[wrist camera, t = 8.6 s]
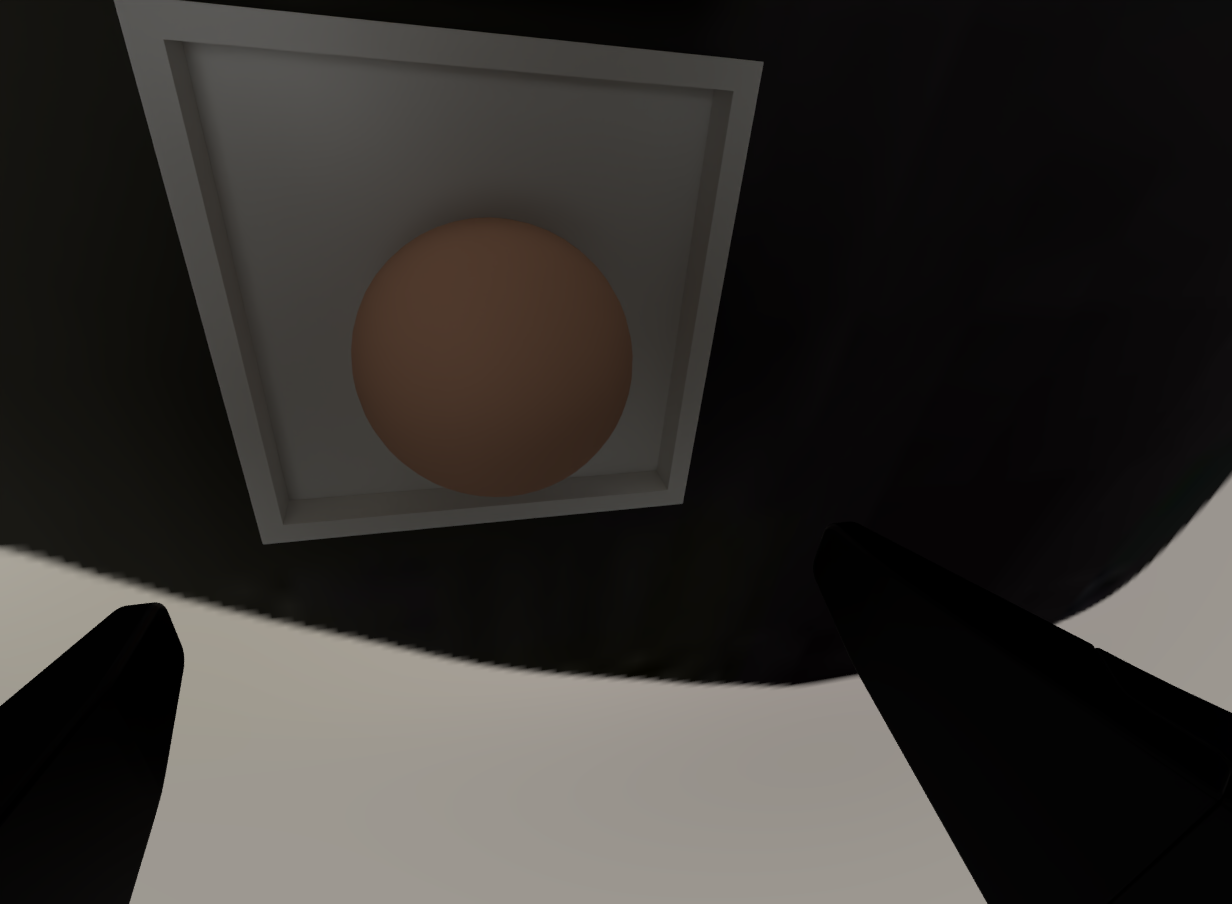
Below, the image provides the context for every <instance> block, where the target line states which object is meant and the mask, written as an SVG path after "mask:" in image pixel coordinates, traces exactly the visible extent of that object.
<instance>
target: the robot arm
mask: <svg viewBox="0 0 1232 904" xmlns="http://www.w3.org/2000/svg"><path fill="white" fill-rule="evenodd" d="M813 572H814V577H815V580H816V582H817V584H818V586H819V589H820V591H821V593H822V596H823V598H824V600H825V602H826V605H827V607H828V609H829V612H830V614H831V616H832V618H833V621H834V623H835V625H836V628H837V630H838V632H839V634H840V637H841V639H842V641H843V644H844V646H845V648H846V650H847V652H848V655H849V657H850V659H851V661H852V663H853V665H854V667H855V669H856V671H857V672H858V674H859V676H860V678H861V680H862V682H863V683H864V685H865V687H866V689H867V690H868V692H869V694H870V695H871V697H872V699H873V701H874V703H875V705H876V706H877V708H878V710H879V712H880V714H881V715H882V717H883V719H884V721H885V722H886V724H887V726H888V728H889V730H890V731H891V733H892V735H893V737H894V738H895V740H896V742H897V744H898V746H899V747H900V749H901V751H902V753H903V754H904V756H905V758H906V760H907V762H908V763H909V765H910V767H911V769H912V770H913V772H914V774H915V776H916V777H917V779H918V781H919V783H920V785H921V786H922V788H923V790H924V792H925V794H926V795H927V797H928V799H929V801H930V802H931V804H932V806H933V808H934V810H935V811H936V813H937V815H938V817H939V818H940V820H941V822H942V824H943V826H944V827H945V829H946V831H947V832H948V834H949V836H950V838H951V840H952V842H953V843H954V845H955V847H956V849H957V850H958V852H959V854H960V856H961V857H962V859H963V861H964V863H965V865H966V866H967V868H968V870H969V872H970V873H971V875H972V877H973V879H974V881H975V882H976V884H977V886H978V888H979V890H980V891H981V893H982V894H983V897H984V898H985V900H986V902H987V904H1232V713H1231V712H1228V711H1226V710H1224V709H1222V708H1220V707H1218V706H1216V705H1214V704H1211V703H1209V702H1207V701H1205V700H1203V699H1201V698H1198V697H1197V696H1194V695H1192V694H1190V693H1188V692H1186V691H1184V690H1182V689H1179V688H1177V687H1175V686H1173V685H1171V684H1169V683H1167V682H1165V681H1163V680H1161V679H1159V678H1157V677H1155V676H1153V675H1151V674H1149V673H1147V672H1145V671H1143V670H1141V669H1139V668H1137V667H1135V666H1133V665H1131V664H1129V663H1127V662H1125V661H1123V660H1121V659H1119V658H1117V657H1116V656H1114V655H1112V654H1110V653H1108V652H1106V651H1104V650H1102V649H1100V648H1094V646H1093V645H1092V644H1090V643H1088V642H1086V641H1084V640H1083V639H1081V638H1079V637H1077V636H1075V635H1073V634H1071V633H1069V632H1067V631H1065V630H1063V629H1061V628H1059V627H1057V626H1055V625H1053V624H1052V623H1050V622H1048V621H1046V620H1044V619H1042V618H1040V617H1038V616H1036V615H1034V614H1032V613H1030V612H1028V611H1026V610H1024V609H1022V608H1021V607H1019V606H1017V605H1015V604H1013V603H1011V602H1009V601H1007V600H1005V599H1003V598H1001V597H999V596H997V595H995V594H993V593H991V592H990V591H988V590H986V589H984V588H982V587H980V586H978V585H976V584H974V583H972V582H970V581H968V580H966V579H964V578H962V577H960V576H959V575H957V574H955V573H953V572H951V571H949V570H947V569H945V568H943V567H941V566H939V565H937V564H935V563H933V562H931V561H929V560H928V559H926V558H924V557H922V556H920V555H918V554H916V553H914V552H912V551H910V550H908V549H906V548H904V547H902V546H900V545H899V544H897V543H895V542H893V541H891V540H889V539H887V538H885V537H883V536H881V535H879V534H877V533H875V532H873V531H871V530H869V529H868V528H866V527H864V526H862V525H860V524H858V523H856V522H841V523H833V524H830V525H828V526H827V528H826V529H825V531H824V533H823V536H822V539H821V542H820V545H819V548H818V551H817V554H816V557H815V560H814V563H813ZM183 669H184V652H183V648H182V645H181V643H180V640H179V638H178V635H177V633H176V631H175V628H174V626H173V623H172V621H171V618H170V616H169V613H168V611H167V609H166V608H165V607H164V606H163V605H162V604H160V603H146V604H137V605H128V606H124V607H121V608H119V609H117V610H115V611H114V612H113V613H111V614H110V615H109V616H108V617H107V618H105V619H104V620H103V621H102V622H101V623H99V624H98V625H97V626H96V627H95V628H93V629H92V630H91V631H90V632H89V633H87V634H86V635H85V636H84V637H83V638H82V639H80V640H79V641H78V642H77V643H75V644H74V645H73V646H72V647H71V648H70V649H68V650H67V651H66V652H65V653H63V654H62V655H61V656H60V657H59V658H57V659H56V660H55V661H54V662H53V663H51V664H50V665H49V666H48V667H47V668H46V669H44V670H43V671H42V672H41V673H39V674H38V675H37V676H36V677H35V678H33V679H32V680H31V681H30V682H29V683H28V684H26V685H25V686H24V687H23V688H21V689H20V690H19V691H18V692H17V693H15V694H14V695H13V696H12V697H11V698H9V699H8V700H7V701H6V702H5V703H3V704H2V705H1V706H0V904H129V902H130V899H131V896H132V892H133V889H134V886H135V882H136V879H137V876H138V872H139V869H140V866H141V862H142V859H143V856H144V852H145V849H146V845H147V842H148V839H149V836H150V832H151V829H152V826H153V822H154V819H155V815H156V812H157V808H158V804H159V801H160V797H161V793H162V789H163V784H164V779H165V773H166V768H167V763H168V757H169V751H170V745H171V739H172V733H173V728H174V721H175V716H176V710H177V704H178V699H179V693H180V687H181V681H182V675H183Z"/></svg>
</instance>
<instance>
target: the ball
mask: <svg viewBox="0 0 1232 904" xmlns="http://www.w3.org/2000/svg"><path fill="white" fill-rule="evenodd" d="M351 359H352V373H353V379H354V383H355V388H356V392H357V395H358V398H359V400H360V403H361V405H362V408H363V411H364V413H365V416H366V418H367V419H368V421H369V423H370V425H371V426H372V428H373V430H374V431H375V433H376V434H377V435H378V436H379V438H380V439H381V440H382V442H383V443H384V444H385V445H386V447H387V448H388V449H389V451H391V452H392V453H393V454H394V455H395V456H396V457H397V458H398V459H399V460H400V461H401V462H402V463H404V464H405V465H406V466H408V467H409V468H410V469H412V470H413V471H414V472H416V473H417V474H419V475H420V476H422V477H424V478H426V479H427V480H429V481H431V482H433V483H435V484H437V485H440V486H442V487H444V488H447V489H450V490H454V491H457V492H461V493H465V494H470V495H476V496H485V497H509V496H516V495H523V494H527V493H531V492H535V491H538V490H541V489H544V488H546V487H549V486H551V485H554V484H556V483H558V482H560V481H562V480H564V479H565V478H567V477H568V476H570V475H572V474H573V473H575V472H576V471H577V470H579V469H580V468H581V467H582V466H584V465H585V464H586V463H587V462H588V461H589V460H590V459H591V458H592V457H593V456H594V455H595V454H596V453H597V452H598V451H599V450H600V449H601V448H602V446H603V445H604V444H605V443H606V441H607V440H608V439H609V437H610V436H611V434H612V432H613V431H614V429H615V428H616V426H617V424H618V421H619V419H620V417H621V415H622V413H623V410H624V407H625V404H626V401H627V398H628V395H629V390H630V385H631V379H632V361H633V354H632V343H631V337H630V333H629V329H628V325H627V320H626V316H625V314H624V311H623V309H622V306H621V304H620V301H619V300H618V298H617V296H616V294H615V293H614V291H613V289H612V287H611V286H610V284H609V282H608V280H607V279H606V278H605V276H604V275H603V274H602V273H601V271H600V270H599V269H598V267H597V266H596V265H595V264H594V263H593V262H592V261H591V260H590V259H588V258H587V257H586V256H585V255H584V254H583V253H582V252H581V251H580V250H579V249H577V248H576V247H574V246H573V245H572V244H570V243H569V242H568V241H566V240H565V239H563V238H561V237H559V236H558V235H556V234H554V233H552V232H550V231H548V230H545V229H543V228H540V227H537V226H535V225H532V224H529V223H525V222H520V221H516V220H512V219H504V218H493V217H487V218H470V219H465V220H459V221H454V222H451V223H448V224H445V225H441V226H438V227H436V228H434V229H431V230H429V231H427V232H425V233H423V234H421V235H419V236H418V237H416V238H415V239H413V240H412V241H410V242H409V243H407V244H406V245H404V246H403V247H402V248H401V249H400V250H399V251H398V252H396V253H395V254H394V255H393V256H392V257H391V258H390V259H389V260H388V261H387V262H386V263H385V264H384V266H383V267H382V268H381V269H380V270H379V272H378V273H377V274H376V275H375V277H374V278H373V280H372V282H371V283H370V285H369V287H368V288H367V290H366V292H365V294H364V297H363V299H362V302H361V304H360V307H359V309H358V312H357V316H356V320H355V324H354V328H353V333H352V345H351Z"/></svg>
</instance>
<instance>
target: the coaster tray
mask: <svg viewBox="0 0 1232 904" xmlns="http://www.w3.org/2000/svg"><path fill="white" fill-rule="evenodd" d="M114 3H115V6H116V10H117V14H118V17H119V21H120V25H121V28H122V32H123V36H124V39H125V43H126V47H127V50H128V54H129V58H130V61H131V65H132V68H133V72H134V76H135V79H136V83H137V87H138V90H139V94H140V98H141V101H142V105H143V109H144V112H145V116H146V120H147V123H148V127H149V131H150V134H151V138H152V141H153V145H154V149H155V152H156V156H157V160H158V163H159V167H160V171H161V174H162V178H163V182H164V185H165V189H166V193H167V196H168V200H169V203H170V207H171V211H172V214H173V218H174V222H175V225H176V229H177V233H178V236H179V240H180V244H181V247H182V251H183V255H184V258H185V262H186V266H187V269H188V273H189V276H190V280H191V284H192V287H193V291H194V295H195V298H196V302H197V306H198V309H199V313H200V317H201V320H202V324H203V328H204V331H205V335H206V339H207V342H208V346H209V349H210V353H211V357H212V360H213V364H214V368H215V371H216V375H217V379H218V382H219V386H220V390H221V393H222V397H223V401H224V404H225V408H226V411H227V415H228V419H229V422H230V426H231V430H232V433H233V437H234V441H235V444H236V448H237V452H238V455H239V459H240V463H241V466H242V470H243V474H244V477H245V481H246V484H247V488H248V492H249V495H250V499H251V503H252V506H253V510H254V514H255V517H256V521H257V525H258V528H259V532H260V536H261V539H262V543H263V544H273V543H283V542H293V541H304V540H314V539H324V538H335V537H345V536H355V535H365V534H376V533H386V532H396V531H407V530H417V529H427V528H438V527H448V526H458V525H468V524H479V523H489V522H499V521H510V520H520V519H530V518H540V517H551V516H561V515H571V514H582V513H592V512H602V511H612V510H623V509H633V508H643V507H654V506H664V505H674V504H683V499H684V494H685V488H686V483H687V477H688V472H689V466H690V461H691V456H692V450H693V445H694V439H695V434H696V428H697V423H698V417H699V412H700V407H701V401H702V396H703V390H704V385H705V379H706V374H707V368H708V363H709V357H710V352H711V347H712V341H713V336H714V330H715V325H716V319H717V314H718V308H719V303H720V298H721V292H722V287H723V281H724V276H725V270H726V265H727V259H728V254H729V249H730V243H731V238H732V232H733V227H734V221H735V216H736V210H737V205H738V199H739V194H740V189H741V183H742V178H743V172H744V167H745V161H746V156H747V150H748V145H749V140H750V134H751V129H752V123H753V118H754V112H755V107H756V101H757V96H758V91H759V85H760V80H761V74H762V69H763V63H764V62H760V61H751V60H742V59H734V58H724V57H715V56H705V55H696V54H686V53H677V52H667V51H658V50H648V49H639V48H629V47H620V46H610V45H601V44H591V43H582V42H572V41H563V40H553V39H544V38H535V37H525V36H516V35H506V34H497V33H487V32H478V31H468V30H459V29H449V28H440V27H430V26H421V25H411V24H402V23H392V22H383V21H373V20H364V19H354V18H345V17H335V16H326V15H316V14H307V13H297V12H288V11H278V10H269V9H260V8H250V7H241V6H231V5H222V4H212V3H203V2H193V1H184V0H114ZM487 217H493V218H504V219H512V220H516V221H520V222H525V223H529V224H532V225H535V226H537V227H540V228H543V229H545V230H548V231H550V232H552V233H554V234H556V235H558V236H559V237H561V238H563V239H565V240H566V241H568V242H569V243H570V244H572V245H573V246H574V247H576V248H577V249H579V250H580V251H581V252H582V253H583V254H584V255H585V256H586V257H587V258H588V259H590V260H591V261H592V262H593V263H594V264H595V265H596V266H597V267H598V269H599V270H600V271H601V273H602V274H603V275H604V276H605V278H606V279H607V280H608V282H609V284H610V286H611V287H612V289H613V291H614V293H615V294H616V296H617V298H618V300H619V301H620V304H621V306H622V309H623V311H624V314H625V316H626V320H627V325H628V329H629V333H630V337H631V343H632V354H633V361H632V379H631V385H630V390H629V395H628V398H627V401H626V404H625V407H624V410H623V413H622V415H621V417H620V419H619V421H618V424H617V426H616V428H615V429H614V431H613V432H612V434H611V436H610V437H609V439H608V440H607V441H606V443H605V444H604V445H603V446H602V448H601V449H600V450H599V451H598V452H597V453H596V454H595V455H594V456H593V457H592V458H591V459H590V460H589V461H588V462H587V463H586V464H585V465H584V466H582V467H581V468H580V469H579V470H577V471H576V472H575V473H573V474H572V475H570V476H568V477H567V478H565V479H564V480H562V481H560V482H558V483H556V484H554V485H551V486H549V487H546V488H544V489H541V490H538V491H535V492H531V493H527V494H523V495H516V496H509V497H485V496H476V495H470V494H465V493H461V492H457V491H454V490H450V489H447V488H444V487H442V486H440V485H437V484H435V483H433V482H431V481H429V480H427V479H426V478H424V477H422V476H420V475H419V474H417V473H416V472H414V471H413V470H412V469H410V468H409V467H408V466H406V465H405V464H404V463H402V462H401V461H400V460H399V459H398V458H397V457H396V456H395V455H394V454H393V453H392V452H391V451H389V449H388V448H387V447H386V445H385V444H384V443H383V442H382V440H381V439H380V438H379V436H378V435H377V434H376V433H375V431H374V430H373V428H372V426H371V425H370V423H369V421H368V419H367V418H366V416H365V413H364V411H363V408H362V405H361V403H360V400H359V398H358V395H357V392H356V388H355V383H354V379H353V373H352V359H351V345H352V333H353V328H354V324H355V320H356V316H357V312H358V309H359V307H360V304H361V302H362V299H363V297H364V294H365V292H366V290H367V288H368V287H369V285H370V283H371V282H372V280H373V278H374V277H375V275H376V274H377V273H378V272H379V270H380V269H381V268H382V267H383V266H384V264H385V263H386V262H387V261H388V260H389V259H390V258H391V257H392V256H393V255H394V254H395V253H396V252H398V251H399V250H400V249H401V248H402V247H403V246H404V245H406V244H407V243H409V242H410V241H412V240H413V239H415V238H416V237H418V236H419V235H421V234H423V233H425V232H427V231H429V230H431V229H434V228H436V227H438V226H441V225H445V224H448V223H451V222H454V221H459V220H465V219H470V218H487Z"/></svg>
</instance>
